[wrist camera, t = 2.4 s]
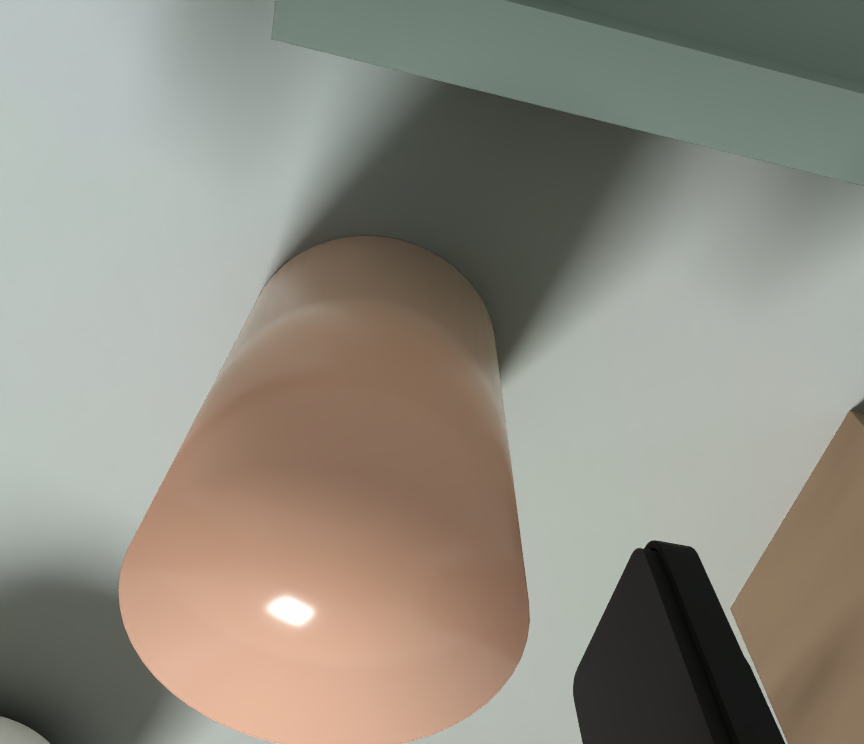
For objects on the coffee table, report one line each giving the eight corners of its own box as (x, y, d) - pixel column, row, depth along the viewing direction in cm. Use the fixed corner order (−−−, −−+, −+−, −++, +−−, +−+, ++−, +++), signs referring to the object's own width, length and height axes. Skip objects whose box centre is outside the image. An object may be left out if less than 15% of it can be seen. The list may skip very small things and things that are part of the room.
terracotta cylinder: (526, 267, 14) (585, 506, 8) (461, 473, 17) (471, 774, 11) (263, 209, 14) (124, 417, 8) (236, 429, 16) (113, 718, 10)
